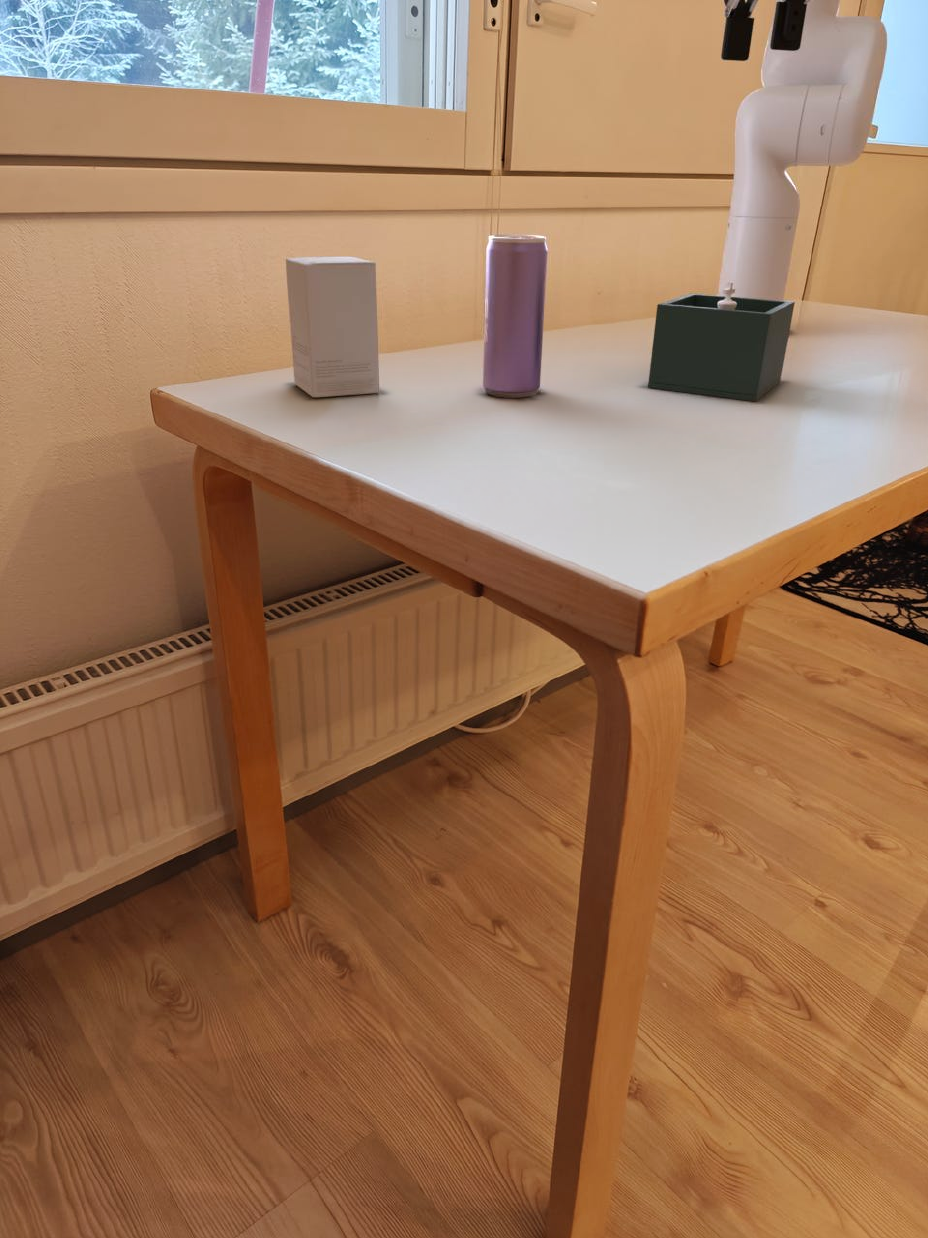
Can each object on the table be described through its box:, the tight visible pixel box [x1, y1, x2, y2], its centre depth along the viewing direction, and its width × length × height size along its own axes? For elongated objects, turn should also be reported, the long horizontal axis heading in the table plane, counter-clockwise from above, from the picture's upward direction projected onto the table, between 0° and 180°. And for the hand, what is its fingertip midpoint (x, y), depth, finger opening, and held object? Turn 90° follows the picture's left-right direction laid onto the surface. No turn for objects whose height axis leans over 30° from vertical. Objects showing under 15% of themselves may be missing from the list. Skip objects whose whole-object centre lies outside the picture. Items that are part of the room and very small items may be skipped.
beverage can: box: [482, 234, 549, 399], centre depth 87 cm, size 6×6×15 cm
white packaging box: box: [285, 256, 380, 398], centre depth 87 cm, size 7×7×13 cm
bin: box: [647, 293, 796, 403], centre depth 94 cm, size 12×12×9 cm
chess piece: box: [717, 282, 737, 310], centre depth 93 cm, size 5×5×10 cm
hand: (758, 54), depth 93 cm, fingers open, 9 cm apart
